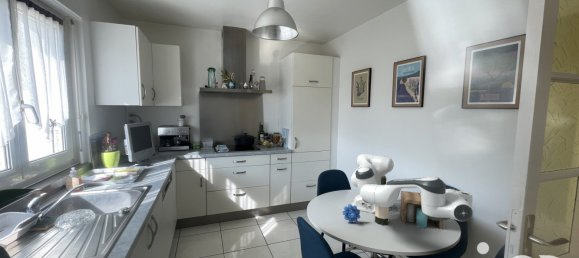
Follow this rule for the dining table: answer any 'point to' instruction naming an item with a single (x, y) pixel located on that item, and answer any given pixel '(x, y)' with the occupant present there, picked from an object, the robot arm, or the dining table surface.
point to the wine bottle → (382, 210)
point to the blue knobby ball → (351, 213)
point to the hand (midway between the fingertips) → (441, 189)
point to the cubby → (414, 199)
